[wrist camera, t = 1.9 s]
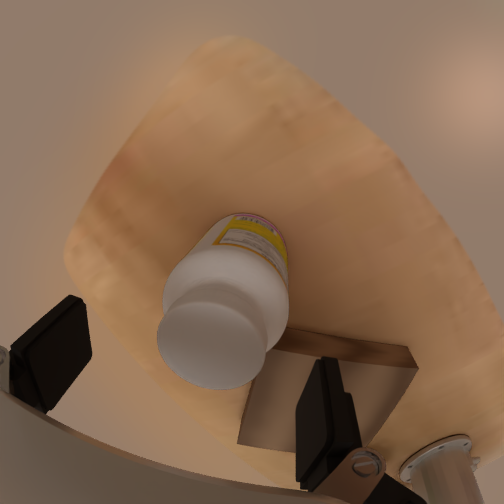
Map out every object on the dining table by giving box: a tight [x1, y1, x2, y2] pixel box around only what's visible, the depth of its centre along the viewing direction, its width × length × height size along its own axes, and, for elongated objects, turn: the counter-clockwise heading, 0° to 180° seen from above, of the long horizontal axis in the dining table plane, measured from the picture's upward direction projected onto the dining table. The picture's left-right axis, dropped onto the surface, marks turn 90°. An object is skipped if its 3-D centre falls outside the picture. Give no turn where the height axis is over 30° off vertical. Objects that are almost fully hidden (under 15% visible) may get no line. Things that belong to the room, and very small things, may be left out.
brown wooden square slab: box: [237, 328, 419, 453], centre depth 26 cm, size 14×14×4 cm
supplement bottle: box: [157, 213, 289, 390], centre depth 18 cm, size 7×7×13 cm
